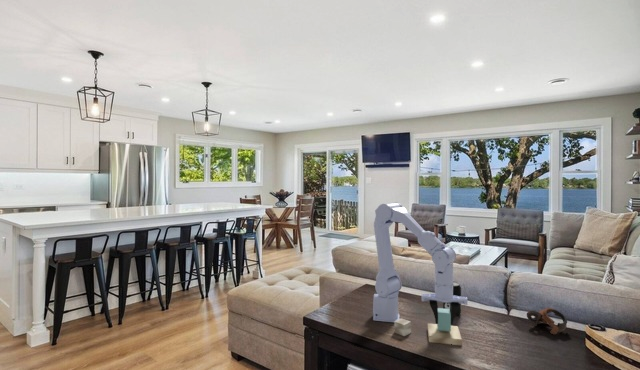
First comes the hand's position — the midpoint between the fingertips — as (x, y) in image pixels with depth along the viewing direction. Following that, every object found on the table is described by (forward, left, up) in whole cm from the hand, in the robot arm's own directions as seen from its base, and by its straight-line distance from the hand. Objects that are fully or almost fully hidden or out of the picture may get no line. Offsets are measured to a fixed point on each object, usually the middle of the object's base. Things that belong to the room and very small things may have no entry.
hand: (443, 323), depth 116 cm
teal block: (0, 0, -2) cm, 2 cm away
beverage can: (+5, +22, -5) cm, 23 cm away
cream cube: (-14, 0, -5) cm, 14 cm away
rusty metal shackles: (+36, +16, -5) cm, 39 cm away
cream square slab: (0, 0, -5) cm, 5 cm away
